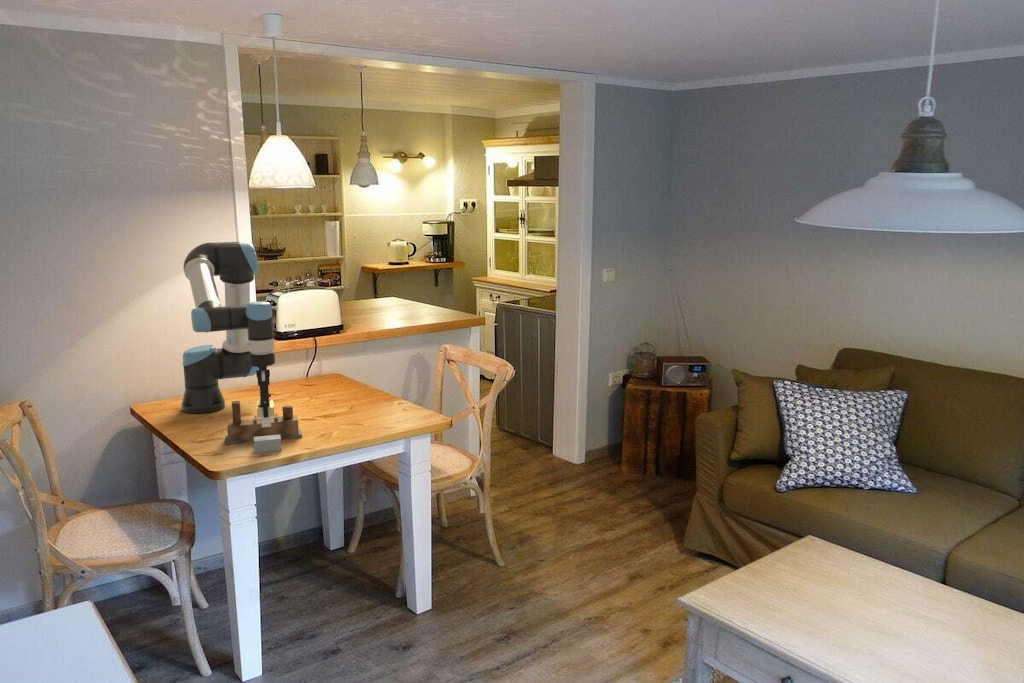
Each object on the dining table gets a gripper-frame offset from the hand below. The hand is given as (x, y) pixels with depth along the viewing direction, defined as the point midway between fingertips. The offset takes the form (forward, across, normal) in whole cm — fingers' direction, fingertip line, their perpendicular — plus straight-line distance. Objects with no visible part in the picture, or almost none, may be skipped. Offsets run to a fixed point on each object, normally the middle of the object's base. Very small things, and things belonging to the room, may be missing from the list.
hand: (266, 422), depth 239 cm
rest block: (+9, 0, 0) cm, 9 cm away
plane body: (+9, -13, -1) cm, 16 cm away
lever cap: (-3, 0, 0) cm, 3 cm away
